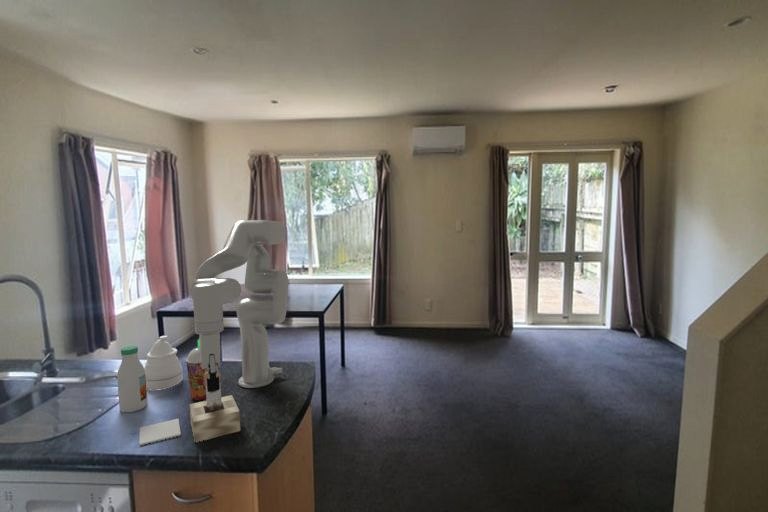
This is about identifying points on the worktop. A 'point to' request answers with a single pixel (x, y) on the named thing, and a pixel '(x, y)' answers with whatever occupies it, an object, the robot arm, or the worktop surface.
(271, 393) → the worktop surface
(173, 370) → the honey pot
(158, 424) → the white square plate
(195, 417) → the birch eye block
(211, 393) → the copper capped bottle
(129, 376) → the milk bottle
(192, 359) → the smoothie
